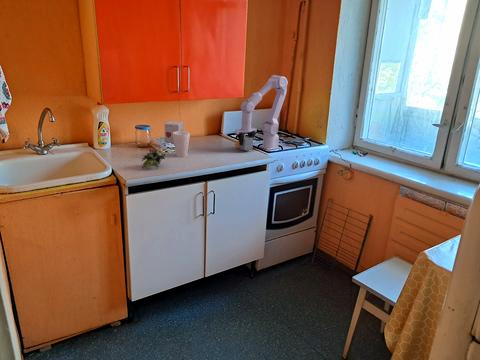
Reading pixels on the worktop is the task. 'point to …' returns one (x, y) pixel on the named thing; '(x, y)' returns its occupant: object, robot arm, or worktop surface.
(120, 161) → the worktop surface
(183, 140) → the foam cup
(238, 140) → the ball
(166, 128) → the supplement box
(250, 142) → the grey cube
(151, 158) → the green leafy clump
